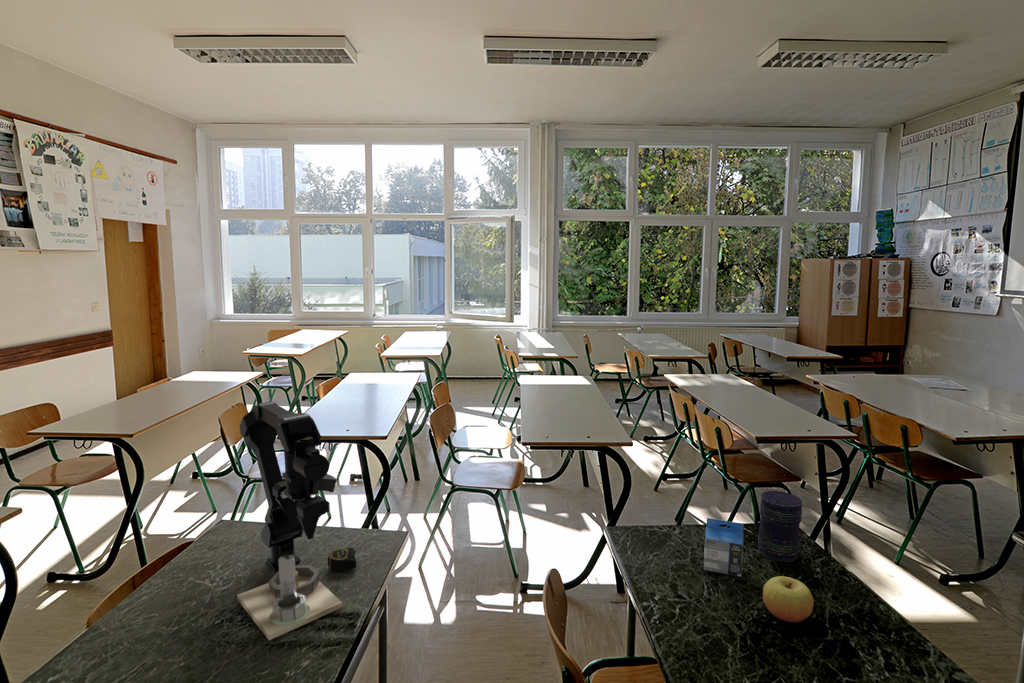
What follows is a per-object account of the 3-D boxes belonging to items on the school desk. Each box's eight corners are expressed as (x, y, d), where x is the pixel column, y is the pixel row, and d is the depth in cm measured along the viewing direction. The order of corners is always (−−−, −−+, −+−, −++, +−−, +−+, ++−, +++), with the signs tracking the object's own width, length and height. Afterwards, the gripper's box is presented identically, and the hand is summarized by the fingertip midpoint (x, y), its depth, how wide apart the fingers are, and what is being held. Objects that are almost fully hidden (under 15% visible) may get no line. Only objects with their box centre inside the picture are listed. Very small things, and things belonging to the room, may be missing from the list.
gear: (267, 615, 120) (263, 561, 118) (292, 600, 125) (288, 547, 123) (287, 625, 116) (283, 569, 115) (312, 609, 122) (309, 555, 120)
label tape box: (703, 570, 140) (705, 524, 138) (704, 562, 144) (706, 517, 142) (741, 578, 136) (744, 530, 135) (741, 569, 140) (744, 523, 138)
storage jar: (765, 538, 156) (769, 487, 153) (803, 551, 149) (808, 498, 147) (751, 552, 148) (755, 498, 146) (790, 566, 142) (795, 510, 140)
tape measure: (357, 572, 139) (356, 558, 139) (328, 577, 137) (327, 563, 136) (355, 558, 146) (355, 545, 145) (328, 563, 143) (327, 549, 143)
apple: (791, 634, 116) (794, 599, 115) (751, 609, 124) (754, 575, 123) (821, 620, 120) (824, 586, 119) (781, 596, 129) (783, 564, 128)
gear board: (237, 599, 128) (236, 581, 127) (306, 572, 139) (305, 555, 138) (268, 640, 114) (267, 620, 113) (342, 607, 125) (341, 588, 124)
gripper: (349, 470, 129) (352, 534, 131) (314, 450, 142) (317, 509, 145) (302, 483, 121) (306, 551, 124) (269, 461, 135) (273, 522, 137)
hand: (302, 531), depth 132 cm, fingers open, 9 cm apart
